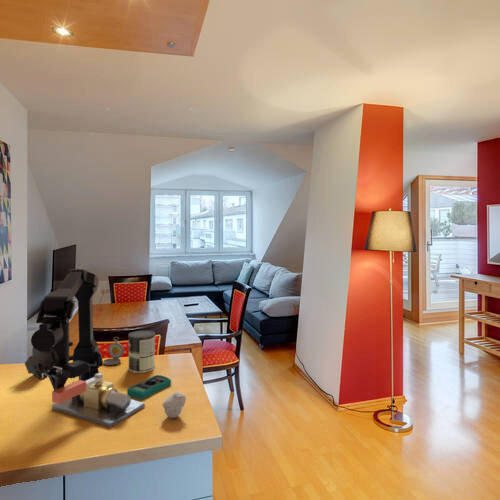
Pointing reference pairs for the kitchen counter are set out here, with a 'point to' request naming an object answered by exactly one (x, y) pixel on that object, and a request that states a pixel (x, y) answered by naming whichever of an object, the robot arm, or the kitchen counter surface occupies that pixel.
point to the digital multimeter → (148, 386)
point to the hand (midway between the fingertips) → (58, 394)
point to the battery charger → (35, 354)
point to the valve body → (100, 405)
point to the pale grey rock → (174, 404)
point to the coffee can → (141, 351)
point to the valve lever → (74, 389)
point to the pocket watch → (114, 348)
